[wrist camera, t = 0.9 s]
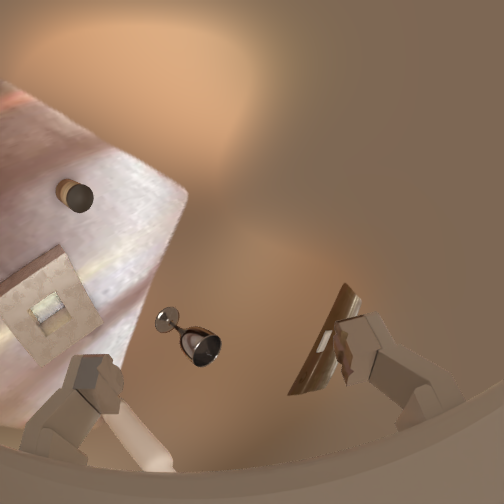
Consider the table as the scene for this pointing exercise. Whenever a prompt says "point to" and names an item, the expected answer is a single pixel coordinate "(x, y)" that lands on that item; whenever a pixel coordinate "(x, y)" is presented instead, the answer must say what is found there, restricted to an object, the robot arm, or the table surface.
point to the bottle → (139, 440)
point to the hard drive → (324, 341)
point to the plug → (74, 195)
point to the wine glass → (190, 338)
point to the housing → (37, 288)
